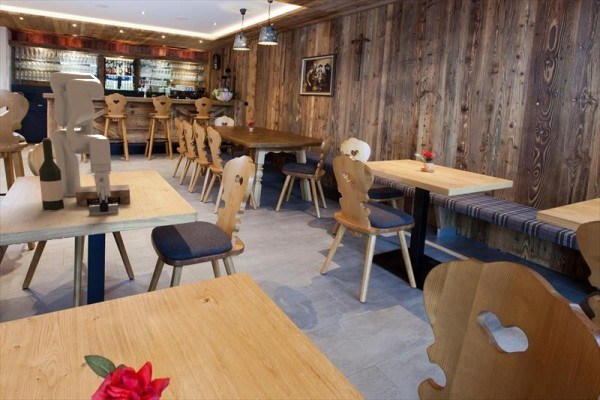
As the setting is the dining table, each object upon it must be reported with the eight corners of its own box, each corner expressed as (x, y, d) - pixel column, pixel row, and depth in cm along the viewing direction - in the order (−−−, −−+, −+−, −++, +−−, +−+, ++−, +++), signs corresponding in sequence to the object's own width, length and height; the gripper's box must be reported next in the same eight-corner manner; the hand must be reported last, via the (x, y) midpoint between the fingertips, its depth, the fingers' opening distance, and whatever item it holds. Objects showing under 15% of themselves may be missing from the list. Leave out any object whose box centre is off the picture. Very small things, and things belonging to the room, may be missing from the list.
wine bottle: (49, 211, 184) (41, 140, 177) (38, 208, 188) (30, 138, 181) (68, 208, 191) (62, 138, 184) (57, 204, 195) (51, 137, 188)
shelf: (76, 206, 193) (75, 192, 191) (78, 200, 204) (77, 186, 202) (130, 203, 202) (129, 189, 200) (128, 197, 212) (128, 184, 211)
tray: (90, 215, 182) (89, 206, 181) (90, 206, 196) (89, 197, 195) (118, 213, 186) (118, 204, 185) (116, 204, 200) (116, 196, 199)
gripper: (111, 170, 173) (114, 215, 177) (110, 164, 186) (113, 206, 190) (90, 171, 170) (94, 216, 174) (91, 165, 183) (94, 208, 187)
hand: (104, 211), depth 182 cm, fingers closed
